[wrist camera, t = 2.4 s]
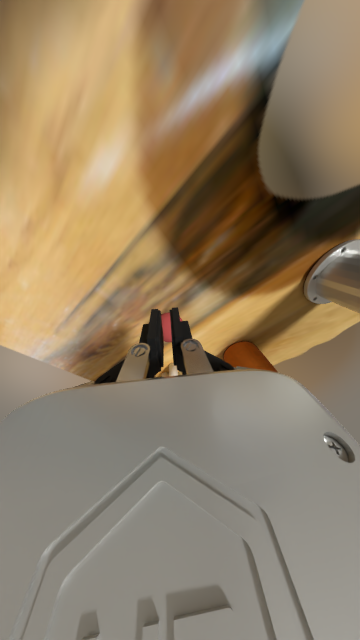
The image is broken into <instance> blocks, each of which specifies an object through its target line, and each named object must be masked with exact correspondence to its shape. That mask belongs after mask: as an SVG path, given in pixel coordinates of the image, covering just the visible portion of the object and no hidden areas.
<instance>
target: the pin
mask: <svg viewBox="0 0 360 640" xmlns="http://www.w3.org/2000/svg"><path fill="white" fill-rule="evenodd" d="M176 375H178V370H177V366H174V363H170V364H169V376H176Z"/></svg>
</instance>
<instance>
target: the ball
mask: <svg viewBox="0 0 360 640" xmlns="http://www.w3.org/2000/svg"><path fill="white" fill-rule="evenodd" d="M161 319H162V327H163V336H164V341H165V342H172V336H171V321H170V313H164V314H162V315H161ZM180 321H182V319H181V318H180Z"/></svg>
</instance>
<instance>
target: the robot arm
mask: <svg viewBox="0 0 360 640" xmlns="http://www.w3.org/2000/svg"><path fill="white" fill-rule="evenodd" d="M304 294H305V297H306V298H307V299H308V300H310V301H311V302H314V303H316V304H325V303H330V302H334V303H336V304H339V305H341V306H343V307H346V308H348V309H350V310H353V311H355V312H357V313H360V239H354V240H350V241H347V242H344V243H342V244H340V245H338V246H336V247H335V248H333V249H332V250H330V251H329V252H328V253H326V254H325V255H324V256H323V257H322V258H321V259H320V260H319V261H318V262H317V263H316V264H315V265H314V267H313V268H312V270H311V271H310V273H309V274H308V276H307V278H306V281H305V285H304ZM170 321H171V336H172V348H173V360H174V366H177V370H179V371H180V372H182V375H176V376H166V377H157V378H156V374H157V373H158V372H160V371H161V367H163V348H164V336H163V327H162V319H161V311H160V310H159V311H158V309H152V310H151V316H150V322H149V324H144V325H143V328H142V333H141V337H140V342H139V343H138V344H135V345H133V346H132V347H131V348H130V349H129V351H128V354H127V356H126V359H125V360H123V361H122V362H120V363H119V364H117V365H116V366H115V367H113V368H112V369H110V370H109V371H108V372H106V373H105V374H103V375H102V376H100V377H99V378H98V379H97V380H96V381H95V382H93V381H91V382H88V383H85V384H82V385H79V386H76V387H73V388H67V389H63V390H59V391H55V392H52V393H49V394H45V395H43V396H40V397H38V398H35V399H33V400H31V401H29V402H27V403H25V404H23V405H21V406H19V407H18V408H16V409H15V410H13V411H12V412H11V413H10V414H8V415H7V416H6V417H5V418H4V419H3V420H2V421H1V422H0V640H360V445H359V444H358V443H357V442H356V441H355V439H354V438H353V437H352V436H351V435H350V434H349V433H348V431H347V430H346V429H345V428H344V427H343V426H342V425H341V424H340V423H339V422H338V421H337V419H336V418H335V417H334V416H333V415H332V414H331V413H330V412H329V411H328V410H327V409H326V408H325V406H323V404H322V403H320V401H319V400H318V399H317V398H316V397H315V396H314V395H313V394H312V393H311V392H309V391H308V390H307V389H306V388H305V387H304V386H303V385H302V384H300V383H299V382H297V381H296V380H295V379H293V378H291V377H289V376H287V375H284V374H281V373H278V372H273V371H269V370H261V369H254V368H247V367H240V366H236V368H235V367H233V366H232V365H230V364H229V363H227V362H225V361H223V360H221V359H219V358H217V357H215V356H214V355H212V354H210V353H208V352H206V351H204V350H203V348H202V345H201V343H200V342H199V341H198V340H195V339H192V335H191V332H190V328H189V324H188V321H180V317H179V311H178V308H172V310H170Z"/></svg>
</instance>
